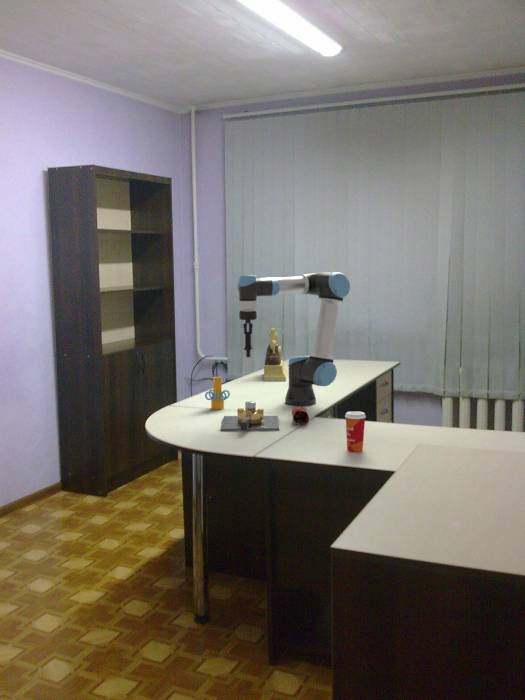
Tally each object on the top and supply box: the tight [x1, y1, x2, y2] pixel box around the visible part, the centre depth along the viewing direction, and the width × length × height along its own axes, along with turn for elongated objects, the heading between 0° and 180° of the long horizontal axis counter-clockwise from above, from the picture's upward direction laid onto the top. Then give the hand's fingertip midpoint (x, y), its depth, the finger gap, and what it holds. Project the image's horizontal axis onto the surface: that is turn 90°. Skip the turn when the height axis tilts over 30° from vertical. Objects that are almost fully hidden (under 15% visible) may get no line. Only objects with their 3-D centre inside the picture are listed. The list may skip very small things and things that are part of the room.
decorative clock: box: [263, 327, 288, 382], centre depth 426 cm, size 28×13×30 cm, turn 177°
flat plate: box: [220, 400, 280, 432], centre depth 305 cm, size 24×25×10 cm
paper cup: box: [344, 410, 367, 453], centre depth 262 cm, size 8×8×14 cm
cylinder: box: [204, 376, 231, 411], centre depth 338 cm, size 12×10×15 cm
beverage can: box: [291, 405, 310, 427], centre depth 308 cm, size 7×12×7 cm, turn 1°
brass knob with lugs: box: [236, 407, 265, 432], centre depth 299 cm, size 24×11×5 cm, turn 172°
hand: (248, 364), depth 314 cm, fingers closed
